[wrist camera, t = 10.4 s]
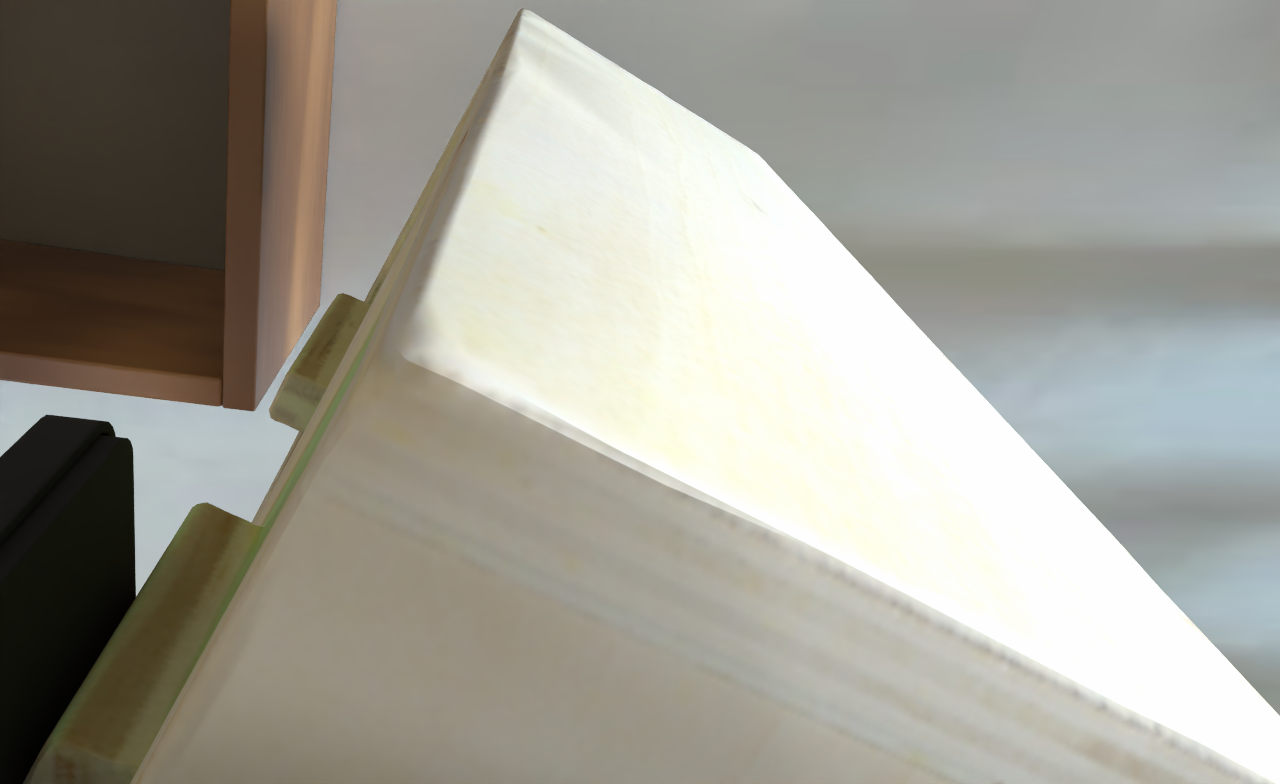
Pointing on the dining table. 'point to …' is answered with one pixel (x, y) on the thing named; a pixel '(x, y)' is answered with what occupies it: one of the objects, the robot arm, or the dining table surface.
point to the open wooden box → (193, 296)
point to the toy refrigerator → (644, 515)
